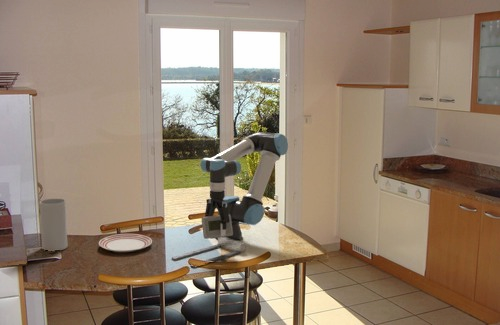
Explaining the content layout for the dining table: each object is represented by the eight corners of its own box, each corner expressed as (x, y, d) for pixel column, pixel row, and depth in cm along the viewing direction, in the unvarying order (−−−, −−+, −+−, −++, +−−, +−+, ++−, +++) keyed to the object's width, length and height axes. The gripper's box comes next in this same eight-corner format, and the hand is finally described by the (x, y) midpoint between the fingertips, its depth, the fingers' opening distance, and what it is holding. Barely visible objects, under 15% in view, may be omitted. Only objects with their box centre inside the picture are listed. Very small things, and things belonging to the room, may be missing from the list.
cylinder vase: (71, 248, 289) (69, 201, 285) (46, 253, 281) (44, 205, 277) (62, 243, 299) (60, 197, 295) (38, 247, 291) (36, 200, 287)
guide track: (171, 259, 275) (171, 249, 275) (222, 244, 300) (222, 235, 299) (194, 268, 264) (194, 258, 263) (244, 252, 288) (244, 242, 287)
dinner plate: (162, 246, 295) (162, 240, 295) (119, 259, 275) (119, 252, 275) (131, 236, 313) (131, 230, 313) (88, 247, 293) (88, 241, 293)
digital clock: (202, 239, 277) (203, 219, 276) (199, 234, 286) (199, 214, 284) (234, 238, 282) (234, 217, 280) (230, 233, 290) (230, 213, 288)
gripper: (197, 187, 285) (197, 230, 288) (226, 194, 270) (225, 239, 274) (208, 185, 290) (208, 227, 294) (237, 192, 276) (236, 236, 279)
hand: (216, 233), depth 284 cm, fingers closed on digital clock, 8 cm apart
